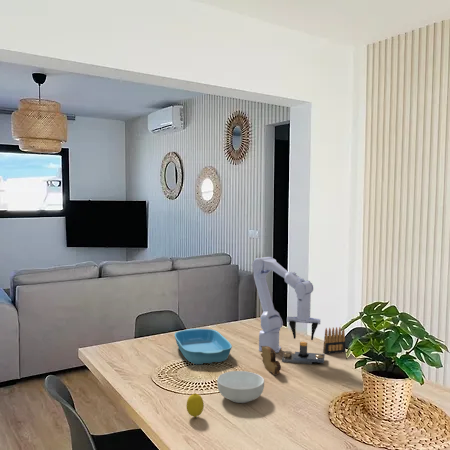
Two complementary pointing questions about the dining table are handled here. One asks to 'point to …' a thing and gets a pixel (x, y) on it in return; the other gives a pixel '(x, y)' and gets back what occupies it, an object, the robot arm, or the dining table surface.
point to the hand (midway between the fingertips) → (303, 338)
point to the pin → (303, 349)
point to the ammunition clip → (334, 341)
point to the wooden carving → (270, 360)
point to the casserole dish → (203, 345)
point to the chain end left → (289, 358)
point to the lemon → (195, 405)
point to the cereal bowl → (240, 386)
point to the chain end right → (310, 357)
